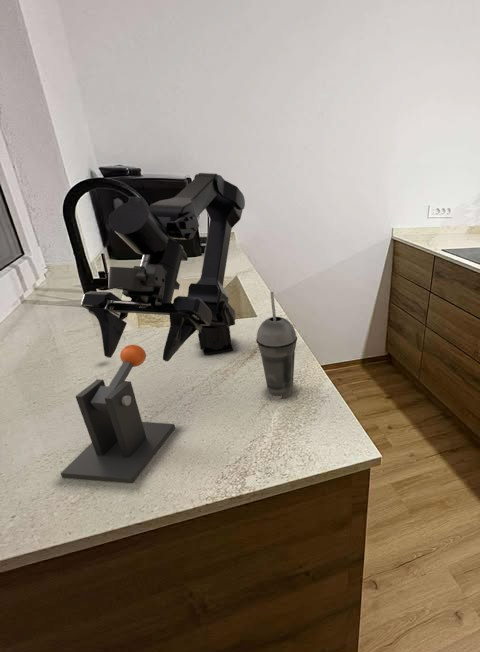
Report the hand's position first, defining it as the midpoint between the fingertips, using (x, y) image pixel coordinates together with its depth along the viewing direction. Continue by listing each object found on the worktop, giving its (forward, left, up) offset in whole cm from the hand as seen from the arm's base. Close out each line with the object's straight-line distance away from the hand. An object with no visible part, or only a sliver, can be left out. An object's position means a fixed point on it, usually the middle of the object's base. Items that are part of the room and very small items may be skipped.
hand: (136, 358), depth 60 cm
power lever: (+2, +3, -2) cm, 4 cm away
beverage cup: (-22, -1, -12) cm, 26 cm away
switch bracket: (+4, +7, -12) cm, 15 cm away
